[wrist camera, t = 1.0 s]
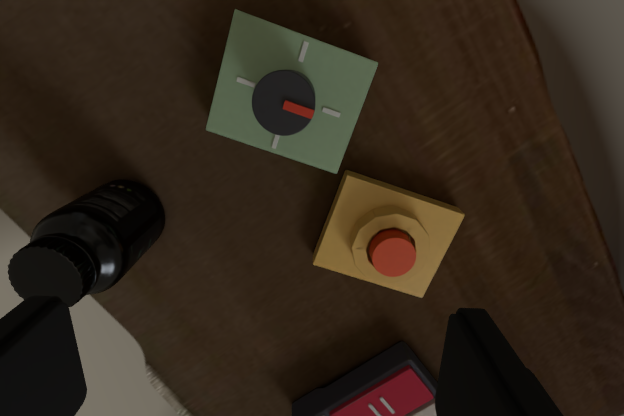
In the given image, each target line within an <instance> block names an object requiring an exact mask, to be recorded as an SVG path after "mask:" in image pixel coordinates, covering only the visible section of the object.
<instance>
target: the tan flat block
mask: <svg viewBox="0 0 624 416" xmlns="http://www.w3.org/2000/svg"><path fill="white" fill-rule="evenodd" d="M464 216H465V214H464V213H463V212H462V211H461V210H460V209H459V208H458V207H456V206H453V205H450V204H447V203H444V202H441V201H438V200H435V199H432V198H429V197H426V196H423V195H420V194H417V193H414V192H411V191H408V190H405V189H402V188H399V187H396V186H394V185H391V184H388V183H385V182H382V181H379V180H376V179H373V178H370V177H367V176H364V175H361V174H358V173H355V172H352V171H349V170H345V172H344V175H343V177H342V180H341V183H340V185H339V188H338V190H337V193H336V196H335V198H334V201H333V203H332V206H331V209H330V211H329V214H328V217H327V219H326V222H325V224H324V227H323V230H322V232H321V235H320V237H319V240H318V243H317V245H316V248H315V250H314V253H313V265H317V266H320V267H323V268H326V269H330V270H333V271H336V272H339V273H343V274H346V275H349V276H352V277H355V278H359V279H362V280H365V281H368V282H372V283H375V284H378V285H381V286H385V287H388V288H391V289H394V290H398V291H401V292H404V293H407V294H411V295H414V296H417V297H420V298H422V297H423V295H424V293H425V291H426V289H427V288H428V286H429V284H430V282H431V280H432V278H433V276H434V274H435V272H436V270H437V268H438V266H439V264H440V262H441V260H442V259H443V257H444V255H445V253H446V251H447V249H448V247H449V245H450V243H451V241H452V239H453V237H454V235H455V233H456V231H457V230H458V228H459V226H460V224H461V222H462V220H463V218H464ZM388 229H395V230H399V231H402V232H403V233H405V234H406V235H407V236H408V237H409V239H410V241H411V243H412V245H413V246H414V248H415V251H416V261H415V263H414V265H413V267H412V268H411V269H410V270H409V271H408V272H407V273H405V274H403V275H401V276H397V277H388V276H385V275H382V274H381V273H379V272H378V271H377V270H376V269H375V267H374V266H373V263H372V260H371V256H370V252H369V247H370V243H371V241H372V239H373V238H374V237H375V236H376V235H377V234H378V233H380V232H382V231H384V230H388Z"/></svg>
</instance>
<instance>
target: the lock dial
mask: <svg viewBox="0 0 624 416" xmlns="http://www.w3.org/2000/svg"><path fill="white" fill-rule="evenodd" d="M315 97H316V96H315V90H314V87H313V85H312V83H311V81H310V80H309V79H308V78H307V77H306V76H305V75H304V74H302V73H301V72H298V71H295V70H277V71H273V72H271V73H268V74H267V75H265V76H264V77H263V78H262V79H261V80H260V81H259V82H258V83H257V85H256V87H255V89H254V91H253V95H252V109H253V113H254V115H255V118H256V119H257V121H258V122H259V124H260V125H261V126H262V127H263V128H264V129H266V130H267V131H269V132H270V133H273V134H276V135H280V136H289V135H293V134H296V133H298V132H300V131H302V130H303V129H304V128H305V127H306V126H307V125H308V124H309V123H310V121H311V119H312V117H313V115H314V112H315Z"/></svg>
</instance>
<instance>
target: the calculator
mask: <svg viewBox="0 0 624 416" xmlns="http://www.w3.org/2000/svg"><path fill="white" fill-rule="evenodd" d="M437 384H438V383H437V382H436V380H435V379H434V378H433V377H432V375H431V374H430V373H429V372H428V370H427V369H426V368H425V367H424V365H423V364H422V363H421V361H420V360H419V359H418V358H417V356H416V355H415V354H414V353H413V351H412V350H411V349H410V348H409V346H408V345H407V344H406V343H405V342H403V341H402V342H399V343H397V344H396V345H394V346H392V347H391V348H389V349H387V350H386V351H384V352H383V353H381V354H379V355H378V356H376V357H374V358H373V359H371V360H369V361H368V362H366V363H365V364H363V365H361V366H360V367H358V368H356V369H355V370H353V371H351V372H350V373H348V374H346V375H345V376H343V377H342V378H340V379H338V380H337V381H335V382H333V383H332V384H330V385H328V386H327V387H325V388H316V389H315V390H313V391H312V392H310V393H308V394H307V395H305V396H303V397H302V398H300V399H298V400H297V401H295V402H294V403H293V404H292V416H437V414H436V410H435V396H436V390H437Z"/></svg>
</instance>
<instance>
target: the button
mask: <svg viewBox="0 0 624 416" xmlns="http://www.w3.org/2000/svg"><path fill="white" fill-rule="evenodd" d="M369 252H370V256H371V260H372V263H373V266H374V267H375V269H376V270H377V271H378V272H379V273H381V274H382V275H385V276H388V277H397V276H401V275H403V274H405V273H407V272H408V271H409V270H410V269H411V268H412V267H413V265H414V263H415V261H416V251H415V248H414V246H413V245H412V243H411V241H410V239H409V237H408V236H407V235H406V234H405V233H403V232H402V231H399V230H395V229H388V230H384V231H382V232H380V233H378V234H377V235H376V236H375V237H374V238H373V239H372V241H371V243H370V247H369Z"/></svg>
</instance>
